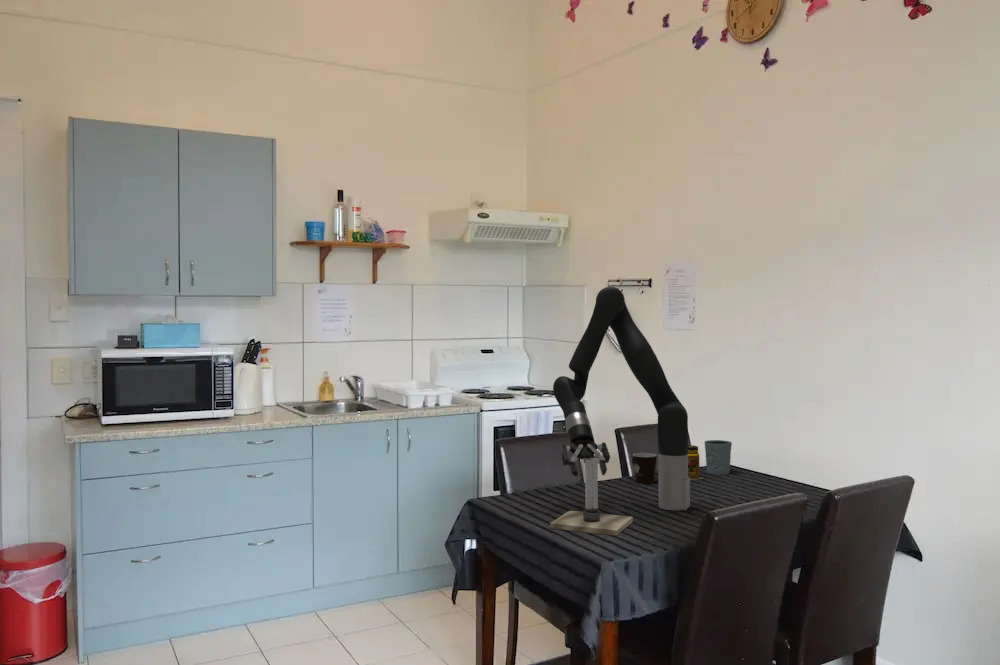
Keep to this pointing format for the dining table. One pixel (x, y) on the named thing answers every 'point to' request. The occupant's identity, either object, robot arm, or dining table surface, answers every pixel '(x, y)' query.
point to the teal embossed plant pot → (718, 457)
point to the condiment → (693, 463)
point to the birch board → (592, 523)
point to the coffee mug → (644, 467)
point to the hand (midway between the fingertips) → (590, 474)
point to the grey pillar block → (591, 490)
